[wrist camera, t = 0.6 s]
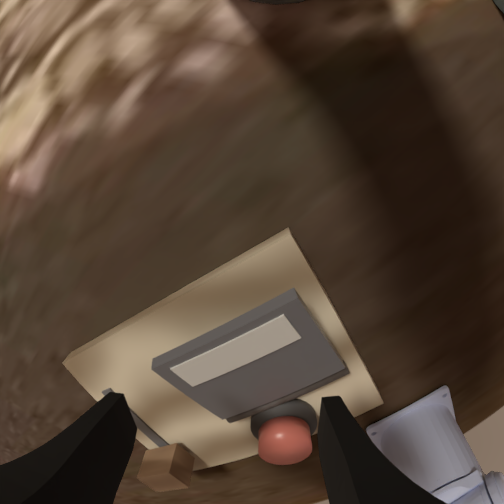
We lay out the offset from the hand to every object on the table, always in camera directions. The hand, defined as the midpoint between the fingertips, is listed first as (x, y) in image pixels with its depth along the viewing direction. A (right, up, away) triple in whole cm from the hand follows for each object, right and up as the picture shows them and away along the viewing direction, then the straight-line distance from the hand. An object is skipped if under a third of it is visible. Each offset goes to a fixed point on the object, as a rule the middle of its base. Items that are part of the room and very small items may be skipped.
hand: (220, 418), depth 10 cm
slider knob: (-6, -11, +13) cm, 18 cm away
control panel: (-1, -3, +12) cm, 12 cm away
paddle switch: (+1, 0, +8) cm, 8 cm away
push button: (+3, -7, +10) cm, 12 cm away
